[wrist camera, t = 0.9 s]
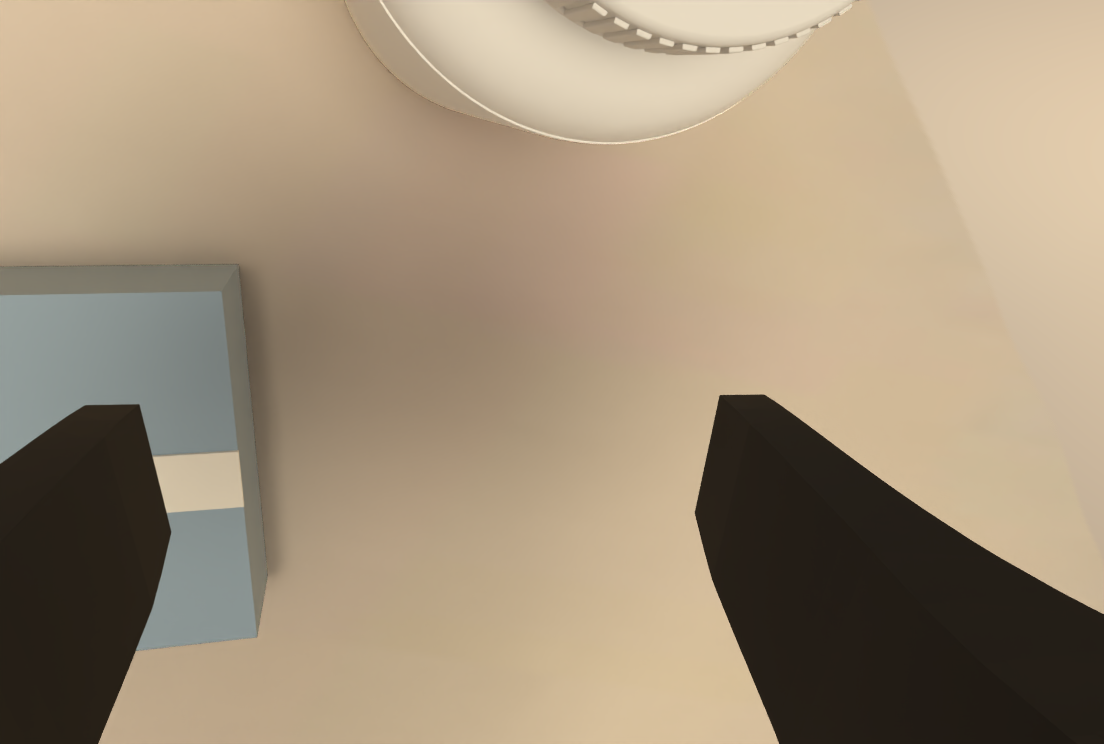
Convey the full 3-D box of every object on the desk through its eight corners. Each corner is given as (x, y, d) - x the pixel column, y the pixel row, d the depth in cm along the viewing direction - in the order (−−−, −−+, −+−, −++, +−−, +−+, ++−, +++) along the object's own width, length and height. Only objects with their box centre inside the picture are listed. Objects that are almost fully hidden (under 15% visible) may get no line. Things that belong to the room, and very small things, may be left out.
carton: (269, 568, 26) (257, 639, 22) (-14, 594, 24) (-72, 676, 21) (241, 261, 22) (221, 292, 19) (-90, 264, 21) (-175, 299, 17)
